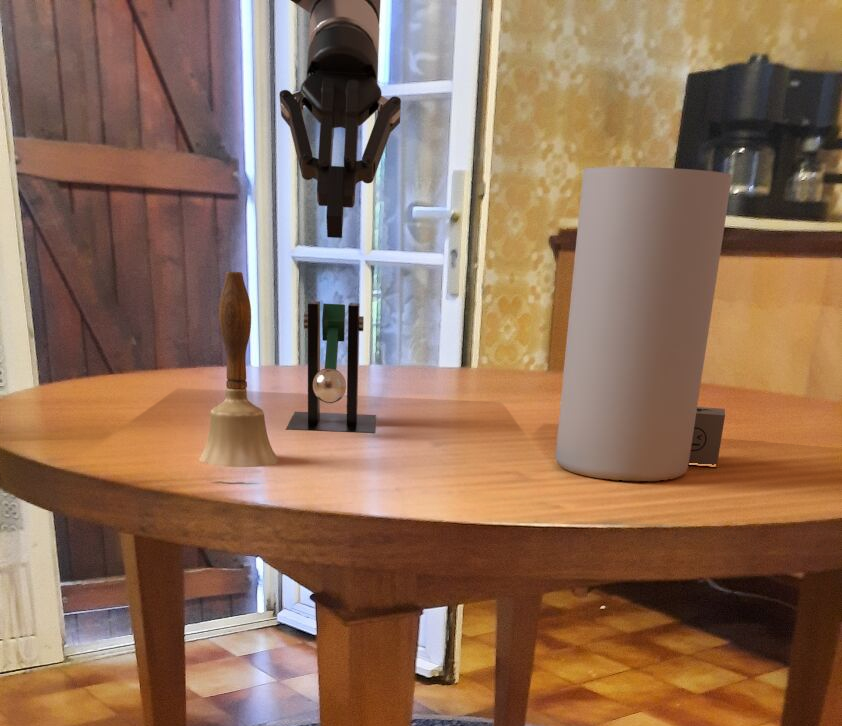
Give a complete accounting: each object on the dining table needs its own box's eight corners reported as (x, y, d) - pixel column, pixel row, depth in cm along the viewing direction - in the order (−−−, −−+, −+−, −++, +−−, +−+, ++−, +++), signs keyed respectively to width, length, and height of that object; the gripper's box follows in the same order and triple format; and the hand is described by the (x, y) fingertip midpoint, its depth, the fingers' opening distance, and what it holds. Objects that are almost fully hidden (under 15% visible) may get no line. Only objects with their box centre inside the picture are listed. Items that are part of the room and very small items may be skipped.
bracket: (374, 445, 108) (378, 308, 102) (285, 442, 107) (283, 304, 102) (375, 426, 118) (379, 302, 113) (294, 423, 118) (293, 298, 112)
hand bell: (181, 466, 94) (171, 268, 87) (272, 463, 97) (269, 271, 90) (202, 486, 87) (193, 272, 80) (300, 481, 90) (299, 276, 83)
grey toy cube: (716, 459, 109) (724, 408, 107) (716, 468, 105) (725, 415, 103) (666, 455, 110) (674, 404, 108) (665, 463, 106) (672, 411, 104)
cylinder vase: (668, 460, 108) (708, 180, 97) (702, 486, 97) (751, 172, 86) (546, 455, 107) (572, 172, 96) (565, 480, 96) (597, 164, 85)
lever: (345, 410, 103) (345, 383, 100) (312, 409, 103) (311, 381, 100) (350, 328, 110) (350, 300, 108) (319, 327, 110) (318, 299, 107)
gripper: (402, 91, 118) (398, 259, 110) (284, 84, 118) (271, 252, 110) (405, 25, 111) (400, 199, 103) (279, 17, 111) (265, 192, 103)
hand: (334, 226), depth 107 cm, fingers closed
